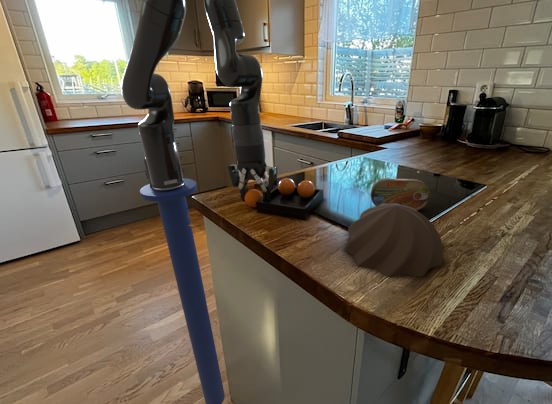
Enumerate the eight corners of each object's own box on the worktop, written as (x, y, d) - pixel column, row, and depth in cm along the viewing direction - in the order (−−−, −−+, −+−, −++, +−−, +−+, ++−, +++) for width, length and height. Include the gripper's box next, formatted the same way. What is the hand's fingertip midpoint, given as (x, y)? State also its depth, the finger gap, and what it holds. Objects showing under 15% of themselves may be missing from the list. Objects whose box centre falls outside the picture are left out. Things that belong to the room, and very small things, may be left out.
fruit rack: (256, 212, 79) (254, 189, 77) (280, 193, 91) (279, 173, 89) (305, 220, 75) (304, 196, 72) (323, 199, 87) (323, 178, 84)
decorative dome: (424, 292, 50) (433, 241, 46) (326, 253, 61) (327, 209, 57) (453, 243, 64) (462, 200, 60) (370, 219, 75) (372, 181, 71)
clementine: (240, 206, 81) (241, 190, 79) (250, 200, 85) (251, 184, 83) (256, 212, 80) (258, 196, 78) (265, 205, 84) (267, 190, 82)
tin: (369, 209, 80) (372, 179, 77) (369, 204, 83) (371, 176, 80) (427, 212, 78) (432, 182, 75) (425, 207, 81) (430, 178, 78)
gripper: (280, 139, 76) (285, 199, 83) (233, 137, 81) (241, 195, 88) (266, 145, 70) (273, 210, 76) (216, 143, 75) (226, 204, 81)
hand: (256, 202), depth 82 cm, fingers open, 6 cm apart
